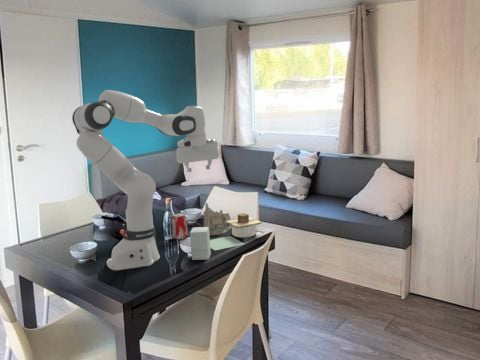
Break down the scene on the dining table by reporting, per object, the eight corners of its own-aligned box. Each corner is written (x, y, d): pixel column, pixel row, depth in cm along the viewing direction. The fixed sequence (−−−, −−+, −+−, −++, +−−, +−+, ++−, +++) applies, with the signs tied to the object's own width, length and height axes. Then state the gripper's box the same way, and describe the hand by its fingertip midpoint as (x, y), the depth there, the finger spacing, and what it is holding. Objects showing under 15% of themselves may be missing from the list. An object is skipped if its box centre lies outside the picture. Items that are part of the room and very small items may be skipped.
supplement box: (211, 254, 207) (209, 226, 204) (208, 260, 200) (206, 231, 197) (194, 254, 208) (192, 227, 205) (191, 260, 200) (189, 232, 198)
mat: (215, 251, 210) (215, 250, 210) (201, 242, 223) (201, 241, 223) (244, 244, 217) (244, 243, 217) (230, 236, 230) (230, 235, 230)
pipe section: (239, 239, 224) (238, 227, 223) (228, 233, 234) (227, 222, 233) (260, 235, 229) (259, 223, 228) (248, 229, 239) (248, 218, 238)
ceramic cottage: (206, 236, 231) (206, 206, 229) (200, 229, 247) (199, 201, 245) (237, 234, 235) (237, 205, 233) (228, 227, 251) (228, 199, 249)
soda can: (185, 240, 227) (183, 216, 225) (171, 240, 229) (169, 216, 227) (189, 236, 234) (187, 212, 232) (176, 235, 236) (174, 212, 233)
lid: (225, 222, 233) (225, 213, 232) (248, 217, 239) (248, 209, 238) (237, 228, 222) (237, 219, 221) (261, 223, 228) (261, 215, 227)
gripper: (214, 138, 225) (216, 167, 227) (173, 142, 215) (176, 172, 218) (220, 139, 219) (221, 168, 222) (178, 143, 210) (181, 174, 213)
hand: (198, 170), depth 220 cm, fingers open, 8 cm apart
